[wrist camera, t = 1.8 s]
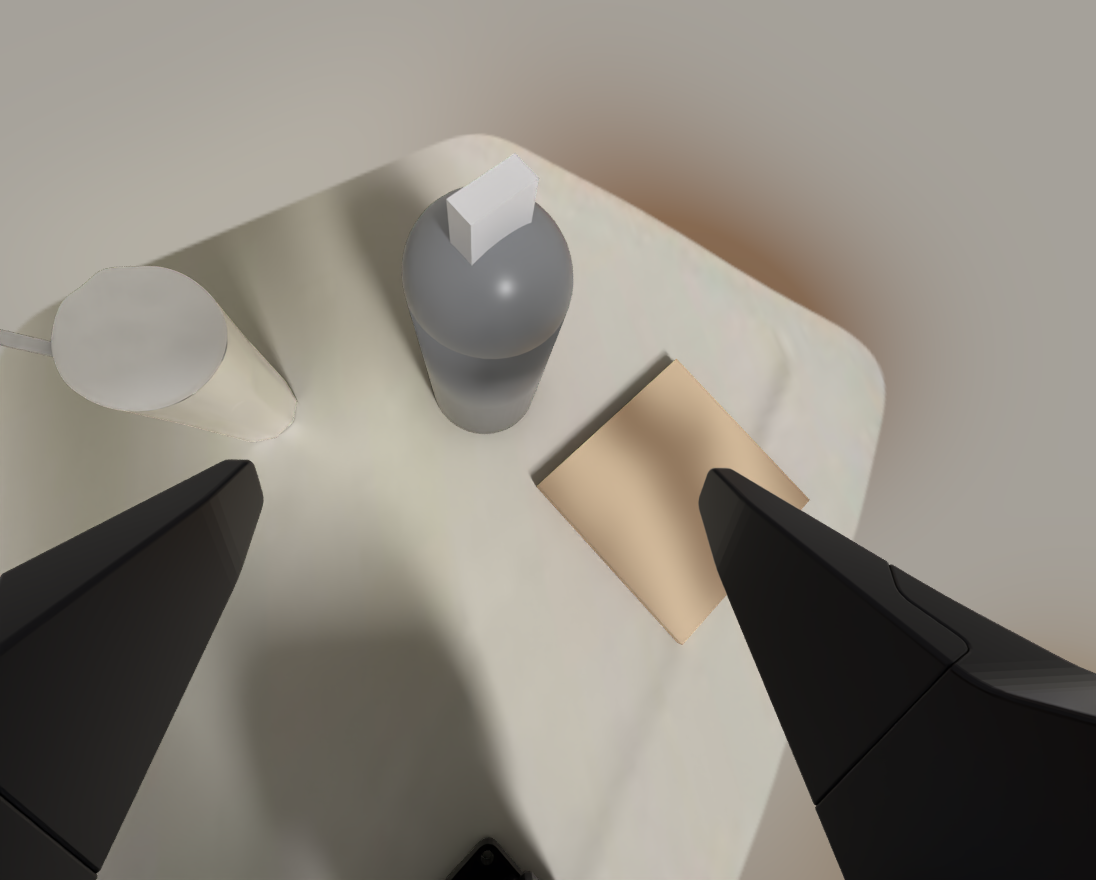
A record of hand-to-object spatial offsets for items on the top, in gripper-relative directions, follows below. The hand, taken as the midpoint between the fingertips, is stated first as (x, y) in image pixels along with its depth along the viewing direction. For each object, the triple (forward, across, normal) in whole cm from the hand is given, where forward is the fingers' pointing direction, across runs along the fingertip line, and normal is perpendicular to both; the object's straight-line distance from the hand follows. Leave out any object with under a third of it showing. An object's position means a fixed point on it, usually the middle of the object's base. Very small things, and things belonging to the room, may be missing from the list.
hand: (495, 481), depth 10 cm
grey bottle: (+14, 0, +5) cm, 15 cm away
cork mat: (+10, -10, +9) cm, 16 cm away
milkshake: (+13, +11, +6) cm, 18 cm away
